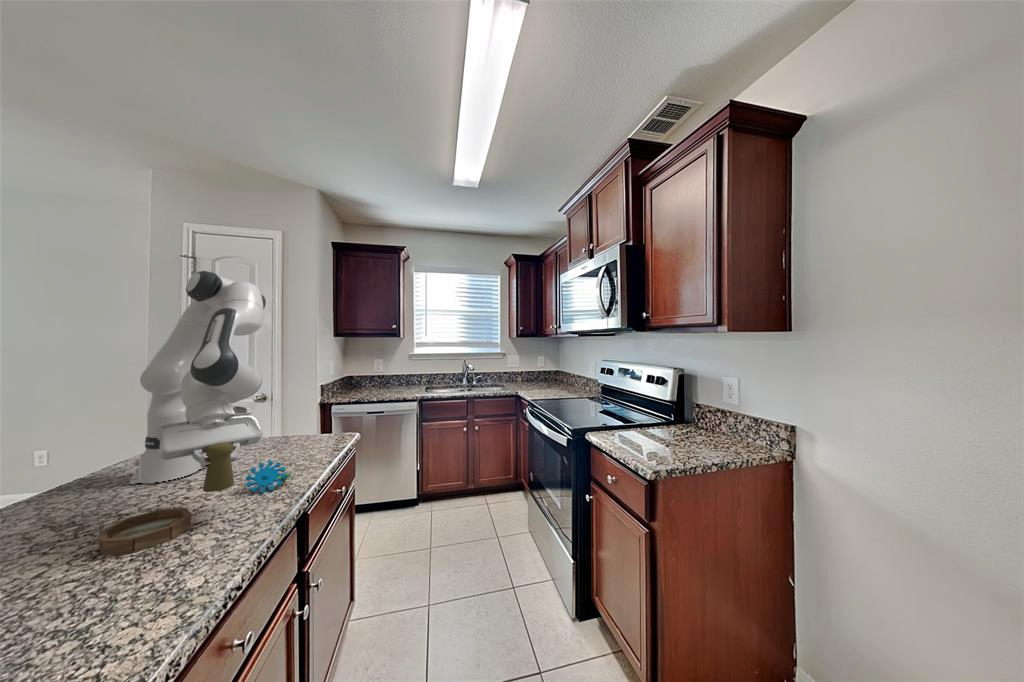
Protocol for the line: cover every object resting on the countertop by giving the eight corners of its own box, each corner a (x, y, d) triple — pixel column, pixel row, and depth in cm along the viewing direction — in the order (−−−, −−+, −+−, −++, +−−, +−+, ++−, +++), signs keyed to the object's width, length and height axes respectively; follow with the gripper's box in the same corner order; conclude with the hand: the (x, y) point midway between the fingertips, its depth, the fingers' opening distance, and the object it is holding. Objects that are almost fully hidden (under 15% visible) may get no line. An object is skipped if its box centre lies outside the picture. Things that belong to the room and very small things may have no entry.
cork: (232, 480, 90) (233, 438, 91) (235, 487, 86) (236, 443, 86) (202, 486, 86) (203, 443, 86) (203, 494, 82) (204, 448, 82)
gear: (240, 492, 98) (251, 459, 105) (242, 501, 101) (252, 469, 108) (285, 490, 103) (293, 459, 109) (285, 499, 106) (293, 468, 113)
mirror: (97, 539, 77) (97, 526, 77) (182, 514, 88) (182, 503, 88) (103, 562, 69) (103, 547, 69) (195, 531, 80) (195, 519, 80)
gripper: (156, 417, 82) (164, 467, 76) (257, 406, 99) (270, 446, 93) (152, 433, 84) (159, 482, 79) (251, 420, 101) (263, 460, 95)
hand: (220, 463), depth 86 cm, fingers closed on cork, 4 cm apart
